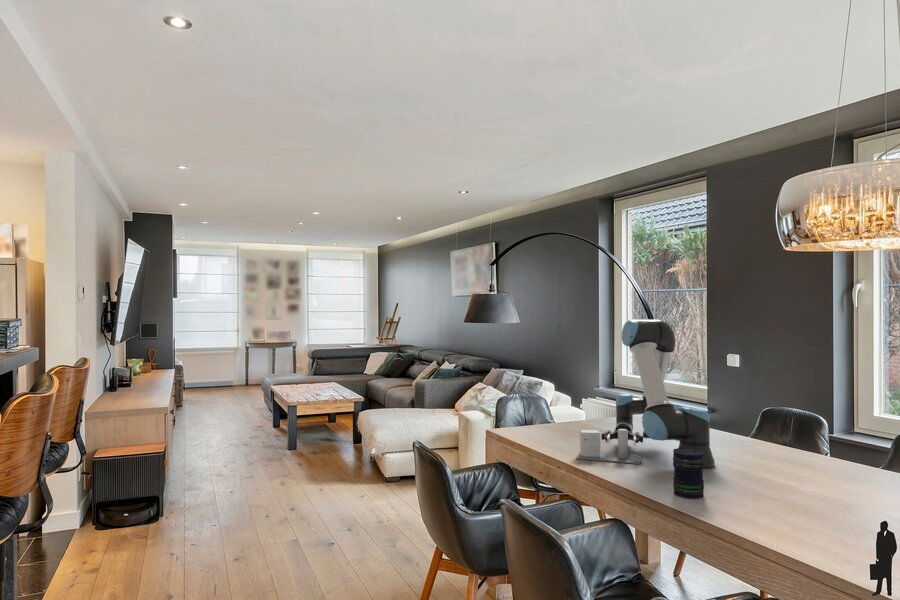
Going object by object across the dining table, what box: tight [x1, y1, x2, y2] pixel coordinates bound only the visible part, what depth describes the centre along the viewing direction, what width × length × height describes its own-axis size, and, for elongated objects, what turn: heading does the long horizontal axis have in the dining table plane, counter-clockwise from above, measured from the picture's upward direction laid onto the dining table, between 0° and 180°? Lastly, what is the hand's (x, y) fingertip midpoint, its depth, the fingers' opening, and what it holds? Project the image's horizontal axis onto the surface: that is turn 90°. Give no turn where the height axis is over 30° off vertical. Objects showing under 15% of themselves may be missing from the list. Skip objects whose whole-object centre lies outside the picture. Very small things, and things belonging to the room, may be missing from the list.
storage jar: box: [672, 447, 705, 500], centre depth 200 cm, size 10×10×15 cm
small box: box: [579, 429, 601, 457], centre depth 252 cm, size 8×6×10 cm
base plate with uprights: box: [576, 429, 641, 465], centre depth 250 cm, size 26×12×13 cm, turn 71°
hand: (621, 441), depth 244 cm, fingers open, 10 cm apart
